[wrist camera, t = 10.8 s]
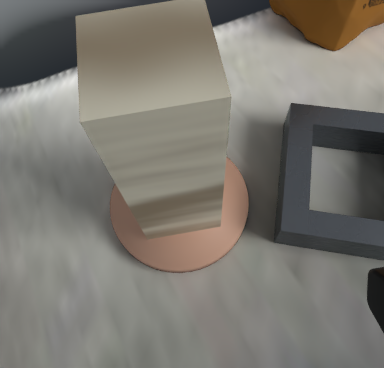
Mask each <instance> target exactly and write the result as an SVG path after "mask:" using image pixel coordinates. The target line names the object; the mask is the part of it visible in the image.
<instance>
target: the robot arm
mask: <svg viewBox="0 0 384 368" xmlns="http://www.w3.org/2000/svg"><path fill="white" fill-rule="evenodd" d="M367 302H368V305H369V308H370V310H371V311H372V313H373V315H374V317H375V319H376V320H377V322H378V324H379V326H380V327H381V329H382V331H383V333H384V267H381V268H375V269H371V270H370V271H369V273H368V284H367Z"/></svg>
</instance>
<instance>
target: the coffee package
mask: <svg viewBox="0 0 384 368" xmlns="http://www.w3.org/2000/svg"><path fill="white" fill-rule="evenodd" d="M269 2H270V6H271V8H272V10H273V11H274V12H275V13H276V14H279V15H282V16H284V17H286V18H287V19H288V20H289V22H290V23H291V24H292V25H293V26H294V27H296V28H298V29H299V30H300V31H301V32H303V34H304V36H305V38H306V39H307V40H308V41H310V42H312V43H316V44H318V45H320V46H322V47H324V48H327V49H329V50H332V51H336V50H339V49H341V48H343V47H344V46H345V45H347V44H348V43H349V42H350V41H352V40H353V39H355V38H356V37H357V36H358V35H359V34H360V33H361V32H363V31H364V30H365V29H367V28H369V27H372V26H376V25H379V24H382V23H384V0H269Z"/></svg>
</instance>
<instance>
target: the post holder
mask: <svg viewBox="0 0 384 368" xmlns="http://www.w3.org/2000/svg"><path fill="white" fill-rule="evenodd" d="M312 146H319V147H327V148H335V149H343V150H351V151H359V152H367V153H375V154H383V155H384V114H383V113H375V112H366V111H357V110H348V109H339V108H330V107H322V106H313V105H304V104H295V103H291V105H290V108H289V111H288V114H287V117H286V120H285V123H284V130H283V141H282V153H281V164H280V176H279V187H278V199H277V210H276V222H275V233H274V243H279V244H286V245H292V246H298V247H304V248H311V249H317V250H323V251H329V252H335V253H342V254H348V255H354V256H360V257H367V258H373V259H379V260H384V221H380V220H373V219H367V218H360V217H353V216H346V215H340V214H333V213H326V212H319V211H313V210H309V202H310V180H311V158H312Z"/></svg>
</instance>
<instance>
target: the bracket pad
mask: <svg viewBox="0 0 384 368" xmlns="http://www.w3.org/2000/svg"><path fill="white" fill-rule="evenodd" d="M248 208H249V198H248V192H247V187H246V184H245V181H244V179H243V177H242V175H241V173H240V171H239V170H238V168H237V167H236V166H235V165H234V163H233V162H232V161H231V160H230V159H229V158H227V157H226V167H225V180H224V192H223V204H222V216H221V227H216V228H210V229H205V230H199V231H193V232H188V233H182V234H177V235H171V236H165V237H160V238H154V239H149V240H148V239H147V238H146V236H145V234H144V233H143V231H142V229H141V227H140V226H139V224H138V222H137V220H136V219H135V217H134V215H133V213H132V212H131V210H130V208H129V207H128V205H127V203H126V201H125V200H124V198H123V196H122V194H121V193H120V191H119V189H118V187H117V186H116V184H115V185H114V187H113V191H112V194H111V200H110V215H111V221H112V225H113V228H114V230H115V233H116V235H117V237H118V238H119V240H120V242H121V243H122V244H123V246H124V247H125V248H126V249H127V250H128V251H129V253H130V254H131V255H133V256H134V257H135V258H136V259H137V260H139V261H140V262H142V263H143V264H145V265H147V266H149V267H151V268H154V269H157V270H160V271H165V272H172V273H183V272H191V271H196V270H200V269H202V268H205V267H207V266H210V265H211V264H213V263H215V262H217V261H218V260H220V259H221V258H222V257H224V256H225V255H226V254H227V253H228V252H229V251H230V250H231V249H232V248H233V246H234V245H235V244H236V243H237V241H238V239H239V238H240V236H241V234H242V232H243V229H244V227H245V223H246V219H247V215H248Z"/></svg>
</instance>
